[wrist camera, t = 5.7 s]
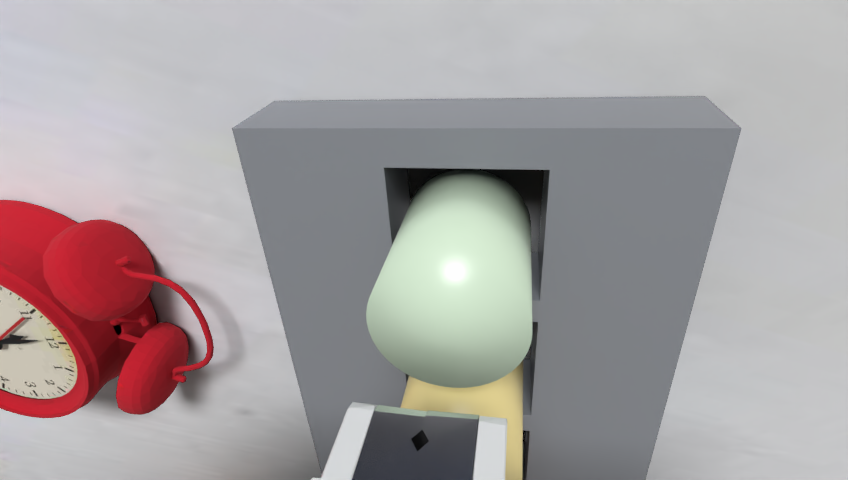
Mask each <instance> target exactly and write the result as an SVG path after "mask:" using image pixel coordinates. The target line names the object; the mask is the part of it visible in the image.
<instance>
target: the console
mask: <svg viewBox="0 0 848 480" xmlns="http://www.w3.org/2000/svg"><path fill="white" fill-rule="evenodd" d="M232 130H233V134H234V138H235V142H236V145H237V149H238V153H239V157H240V161H241V165H242V169H243V172H244V176H245V180H246V184H247V188H248V192H249V195H250V199H251V203H252V207H253V211H254V215H255V219H256V222H257V226H258V230H259V234H260V238H261V242H262V245H263V249H264V253H265V257H266V261H267V265H268V269H269V272H270V276H271V280H272V284H273V288H274V292H275V296H276V299H277V303H278V307H279V311H280V315H281V319H282V322H283V326H284V330H285V334H286V338H287V342H288V346H289V349H290V353H291V357H292V361H293V365H294V369H295V373H296V376H297V380H298V384H299V388H300V392H301V396H302V399H303V403H304V407H305V411H306V415H307V419H308V423H309V426H310V430H311V434H312V438H313V442H314V446H315V450H316V453H317V457H318V461H319V465H320V469H321V473H323V471H324V468H325V466H326V463H327V460H328V458H329V455H330V453H331V450H332V447H333V445H334V442H335V440H336V437H337V435H338V432H339V429H340V427H341V424H342V422H343V419H344V416H345V414H346V411H347V409H348V408H349V406H350V405H351V404H352V402H357V403H366V404H374V405H383V406H390V407H398V408H400V407H401V404H402V400H403V396H404V392H405V389H406V385H407V381H408V377H409V375H408V374H406V373H404V372H402V371H401V370H399V369H398V368H397V367H395V366H394V365H393V364H392V363H390V362H389V361H388V360H387V359H386V358H385V357H384V356H383V355H382V354H381V352H380V351H379V350H378V348H377V347H376V345H375V344H374V342H373V340H372V338H371V335H370V333H369V330H368V326H367V320H366V310H367V304H368V300H369V297H370V295H371V292H372V290H373V288H374V286H375V283H376V281H377V279H378V276H379V274H380V272H381V270H382V267H383V265H384V263H385V260H386V258H387V256H388V254H389V251H390V249H391V247H392V244H393V242H394V240H395V238H396V235H397V233H398V231H399V228H400V226H401V224H402V222H403V219H404V217H405V215H406V212H407V210H408V208H409V206H410V196H409V183H408V171H407V168H449V169H520V170H544V174H543V189H542V203H541V217H540V232H539V246H538V252H531V270H532V322H533V332H532V333H533V334H532V347H531V360H529V359H523V430H525V431H526V433H525V442H523V460H522V480H645V479H646V475H647V472H648V468H649V464H650V461H651V457H652V453H653V450H654V446H655V442H656V439H657V435H658V431H659V428H660V424H661V420H662V417H663V413H664V409H665V406H666V402H667V398H668V395H669V391H670V387H671V384H672V380H673V376H674V373H675V369H676V365H677V362H678V358H679V354H680V351H681V347H682V344H683V340H684V336H685V333H686V329H687V325H688V322H689V318H690V314H691V311H692V307H693V303H694V300H695V296H696V292H697V289H698V285H699V281H700V278H701V274H702V270H703V267H704V263H705V259H706V256H707V252H708V248H709V245H710V241H711V237H712V234H713V230H714V226H715V223H716V219H717V215H718V212H719V208H720V204H721V201H722V197H723V193H724V190H725V186H726V182H727V179H728V175H729V171H730V168H731V164H732V160H733V157H734V153H735V150H736V146H737V142H738V139H739V135H740V131H741V127H739V126H738V125H737V124H736V123H735V122H734V121H733V120H732V119H730V118H729V117H728V116H727V115H726V114H725V113H724V112H722V111H721V110H720V109H719V108H718V107H717V106H716V105H714V104H713V103H712V102H711V101H710V100H709V99H708V98H707V97H705V96H691V97H599V98H507V99H414V100H322V101H274V102H272V103H271V104H269V105H267V106H266V107H264V108H263V109H261V110H260V111H258V112H257V113H255V114H254V115H252V116H250V117H249V118H247V119H246V120H244V121H243V122H241V123H240V124H238V125H236V126H235V127H233V128H232Z"/></svg>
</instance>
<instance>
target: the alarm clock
mask: <svg viewBox="0 0 848 480" xmlns="http://www.w3.org/2000/svg"><path fill="white" fill-rule="evenodd" d="M154 281H155V282H159V283H161V284H164V285H166V286H169V287H170V288H172V289H173V290H175V291H176V292H178V293H179V294H180V295H181V296H182V297H183V298H184V299H185V300H186V302H187V303H188V304H189V305H190V307H191V308H192V310H193V311H194V313H195V315H196V316H197V318H198V320H199V322H200V324H201V327H202V330H203V332H204V335H205V338H206V342H207V354H206V357H205V359H204V360H203V361H201V362H199V363H196V364H192V365H188V366H186V363H187V360H188V350H189V347H188V339H187V336H186V335H185V334H184V332H183V331H182V330H181V328H179V327H177V326H175V325H173V324H170V323H168V322H163V323H158V324H157V321H156V314H155V311H154V309H153V306H152V303H151V300H150V298H149V296H148V294H149V293H150V291H151V288H152V286H153V282H154ZM213 348H214V347H213V340H212V336H211V333H210V330H209V327H208V324H207V321H206V320H205V318H204V316H203V314H202V312H201V310H200V308H199V307H198V305H197V303H196V302H195V300H194V299H193V298H192V297H191V296H190V295H189V294H188V293H187V292H186V291H185V290H184V289H183V288H182V287H181V286H179V285H177V284H176V283H174V282H172V281H171V280H169V279H166V278H163V277H160V276H157V275H155V268H154V264H153V260H152V257H151V255H150V253H149V251H148V249H147V247H146V246H145V245H144V243H143V242H142V241H141V240H140V239H139V238H138V236H137V235H135V234H134V233H133V232H132V231H130V230H129V229H127V228H126V227H124V226H122V225H120V224H117V223H114V222H111V221H108V220H90V221H85V222H81V223H77V222H75V221H73V220H71V219H69V218H67V217H65V216H63V215H62V214H59V213H57V212H54V211H52V210H49V209H47V208H44V207H41V206H38V205H34V204H30V203H26V202H20V201H12V200H0V408H1V409H4V410H6V411H10V412H13V413H17V414H20V415H25V416H30V417H39V418H54V417H61V416H65V415H68V414H70V413H73V412H75V411H76V410H77V409H79V408H81V407H83V406H84V405H86V404H88V403H89V402H90V401H91V400H92V399H93V397H94V396H95V395H96V394H97V393H98V391H99V390H100V389H101V388H102V387H103V386H104V385H105V384H106V383H107V382H108V381H109V380H111V379H113V378H115V377H117V376H119V375H120V376H119V379H118V384H117V392H116V399H117V403H118V408H120V409H121V410H123V411H124V412H127V413H130V414H145V413H149V412H151V411H153V410H155V409H156V408H157V407H159V406H160V405H161V404H163V403H164V402H165V401H166V399H167V398H168V397H169V396H170V395H171V394H172V392H173V391H174V389H175V388H176V386H177V384H178V383H179V382H182V383H184V382H185V381H186V376H182V375H183V373H184V371H191V370H195V369H199V368H202V367H203V366H205V365H207V364H208V363H209V361H210V360H211V358H212V356H213Z"/></svg>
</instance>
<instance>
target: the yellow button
mask: <svg viewBox="0 0 848 480" xmlns="http://www.w3.org/2000/svg"><path fill="white" fill-rule="evenodd" d="M400 408H405V409H413V410H420V411H439V412H450V413H461V414H472V415H479V418H480V416H487V417H496V418H506V419H507V445H506V469H505V480H522V460H523V360H522V362H521V363H520V364H519V365H518V366H517V367H516V368H515V369H514V370H513V371H512V372H510V373H509V374H507V375H506V376H504V377H502V378H501V379H499V380H497V381H494V382H491V383H489V384H485V385H481V386H475V387H467V388H452V387H443V386H438V385H433V384H429V383H426V382H423V381H420V380H418V379H416V378H413V377H411V376H409V377H408V381H407V385H406V389H405V392H404V396H403V400H402V404H401V407H400Z"/></svg>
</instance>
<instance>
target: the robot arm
mask: <svg viewBox="0 0 848 480" xmlns="http://www.w3.org/2000/svg"><path fill="white" fill-rule="evenodd" d="M506 445H507V419H506V418H496V417H487V416H480V418H479V415H472V414H461V413H450V412H439V411H420V410H413V409H405V408H398V407H390V406H383V405H374V404H366V403H357V402H352V404H351V405H350V406H349V408H348V409H347V411H346V414H345V416H344V419H343V422H342V424H341V427H340V429H339V432H338V435H337V437H336V440H335V442H334V445H333V447H332V450H331V453H330V455H329V458H328V460H327V463H326V466H325V468H324V471H323V473H322V476H321V478H316V477H313V478H312V479H310V480H505V469H506Z"/></svg>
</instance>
